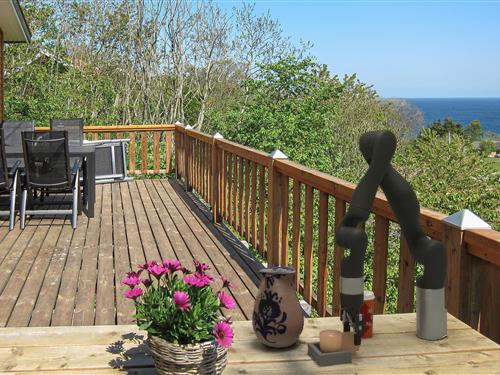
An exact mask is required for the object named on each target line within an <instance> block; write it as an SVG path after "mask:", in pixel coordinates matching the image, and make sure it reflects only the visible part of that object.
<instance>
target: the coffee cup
mask: <svg viewBox="0 0 500 375" xmlns="http://www.w3.org/2000/svg"><path fill="white" fill-rule="evenodd" d="M374 303H375V294H374V292H373V291H372V290H366V289H364V305H363V306H362V307H360V308H359V311H360V314H364V321H365V333H361V339H368V338H372V336H373V330H374V329H373V328H374V326H373V325H374V306H375V304H374ZM355 328H356V327H355ZM361 328H362V326H361Z"/></svg>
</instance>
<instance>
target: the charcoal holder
mask: <svg viewBox="0 0 500 375" xmlns="http://www.w3.org/2000/svg"><path fill="white" fill-rule="evenodd" d="M307 354H308V355H309V357H311V359H312V360H313V361H314V362H315V363H316V364H317V365H318V366H319V367H320V368H322V367H329V366H337V365H344V364H352V362H353V361H352V360H353V359H352V356H353V355H352V352H351V351H350V350H348V351H340V352H332V353H324V354H322V353H321V352H320V342H319V341H314V342H307Z"/></svg>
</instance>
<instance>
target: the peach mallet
mask: <svg viewBox="0 0 500 375" xmlns="http://www.w3.org/2000/svg"><path fill="white" fill-rule="evenodd" d="M318 334H319V339H318V340H319V341H318V342H320V352H321V353H322V354H324V353H332V352H340V351H348V350H350V351H351V353H353V352H359V351H360V348H359V347H360V345H359V346H355V345H354V332H353V330H351V331H350V332H343V331H340V330H337V329H332V328H331V329H324V330H320V331H319V333H318Z"/></svg>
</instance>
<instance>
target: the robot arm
mask: <svg viewBox="0 0 500 375" xmlns="http://www.w3.org/2000/svg"><path fill="white" fill-rule="evenodd" d="M397 146H398V140H397V137H396V135H395V133H394V132H393V131H391V130H389V129H375V130H369V131H365V132H364V133H362V134H361V136H359V140H358V148H359V151H360V153H361V156H362V158H363V159H364V161H365V163H366V164H367V165H368V168H367V170H366V172H365V174H363V177H362V178H361V179H360V181H359V182H358V183H357V185H356V186H355V188H354V190H353V192H352V195H351V198H350V201H349V204H348V209H347V211H346V212H345V214H344V216H343V217H342V219H341V221H340V222H339V224H338V226H337V228H336V230H335V232H334V233H335V234H334V241H335V244H336V245H337V247H339V248H341V249H343V250H344V249H346V250H350V251H349V255H347V256H343V257H342V258H341V259H340V262H339V263H340V264H339V269H340V270H339V273H340V274H339V320H340V322H341V323H342V325H343V326H342V327H343V328H342V332H350V331H353V332H354V345H355V346H359V347H360V346H361V345H362V338H361V333H365V321H364V314H360V311H359V308H360V307H362V306H363V305H364V290H365V282H364V261H365V258H366V253H367V248H368V245H369V237H368V234H367V232H366V231H365V230H364V229H363V228H360V227H358V226H359V225H360V224H361V223H365V222H368V220H369V219H370V216H371V214H372V208H373V206H374V204H375V199H376V196H377V193H378V190H379V188H380V189H381V190H382V193H383V195H384V196H385V199H386V202H387V204H388V205H389V208H390V209H391V212H392V213H393V215H394V217H395V219H396V222H397V223H398V226H399V227H400V230H401V232H402V233H403V234H402V235H403V236H404V239H405V242H406V244H407V248H408V251H409V253H410V255H411V258H412V260H413V261H414V262H416V263H417V264H418V265H421V266H423V274H422V275H418V276H417V277H416V278H415V311H416V312H415V314H416V315H415V317H416V318H415V319H416V322H415V324H416V326H415V328H416V334H415V336H416V337H418V338H420V339H422V340H428V341H438V340H437V339H439V340H441V339H440V338H442V337H443V336H445V335H447V336H448V309H447V308H446V307H445V283H446V279H447V276H448V259H449V258H448V249H447V246H446V244H444V243H443V242H441V241H440V240H435V239H432V238H429V237H428V236H427V234H426V232H425V230H424V228H423V226H422V224H421V218H420V217H421V203H420V201H419V199H418V196H417V194H416V191H415V189H414V188H413V186H412V185H411V184H410V182H409V181H408V180H407V179H406V178H405V177H404V176H403V175H402V174H400V172H399V171H397V169H396V168H394V167H393V165H392V164H391V162H392V159H393V157H394V156H395V153H396V150H397V148H398V147H397ZM361 326H362V328H361ZM355 327H356V328H355ZM351 329H352V330H351Z"/></svg>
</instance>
